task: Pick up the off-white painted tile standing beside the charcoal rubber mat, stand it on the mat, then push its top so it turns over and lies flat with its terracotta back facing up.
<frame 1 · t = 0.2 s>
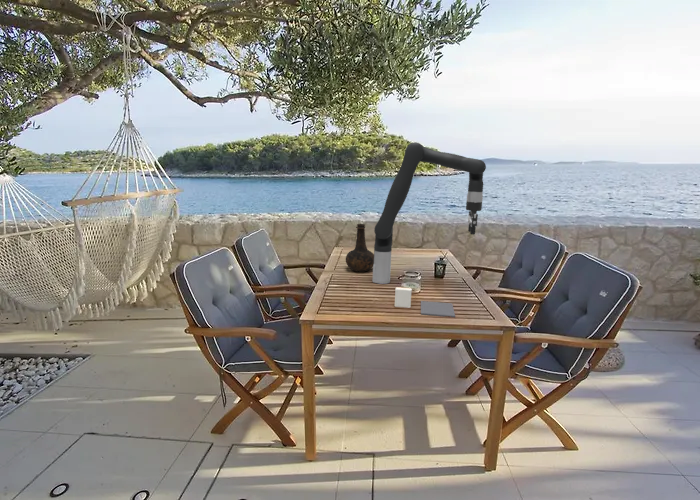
hand: (471, 233, 197), 29 cm above the table, tool pointing down, fingers open, 8 cm apart
mat: (437, 309, 170), on the table
tile: (402, 305, 174), on the table
glass bottle: (360, 270, 234), on the table
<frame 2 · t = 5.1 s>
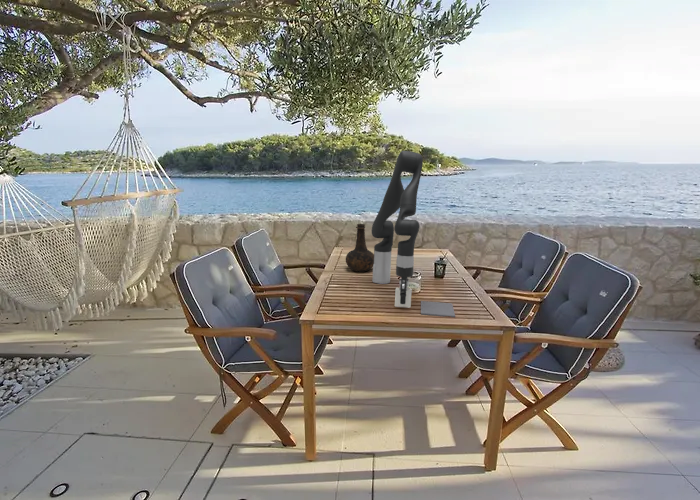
hand: (402, 302, 173), 2 cm above the table, tool pointing down, fingers closed on tile, 3 cm apart
tile: (402, 305, 174), on the table, touching gripper
everything else where it was.
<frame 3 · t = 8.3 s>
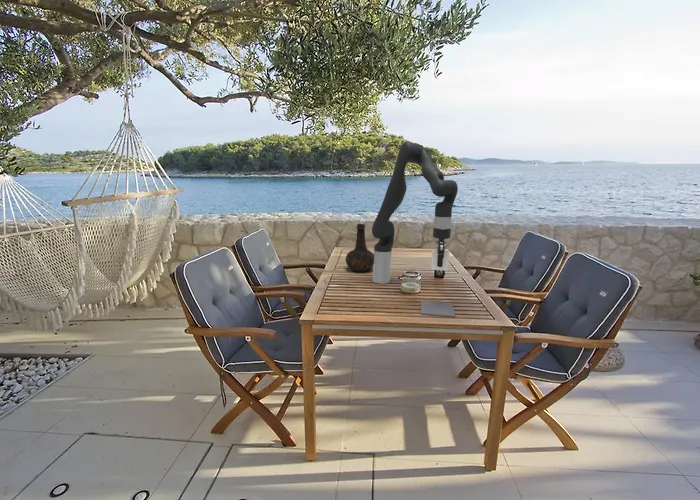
hand: (439, 265, 171), 19 cm above the table, tool pointing down, fingers closed on tile, 3 cm apart
tile: (439, 269, 172), point 17 cm above the table, touching gripper
everything else where it was.
when the fingers open (3 cm above the table, at t = 11.3 s): tile stays where it is, resting on mat.
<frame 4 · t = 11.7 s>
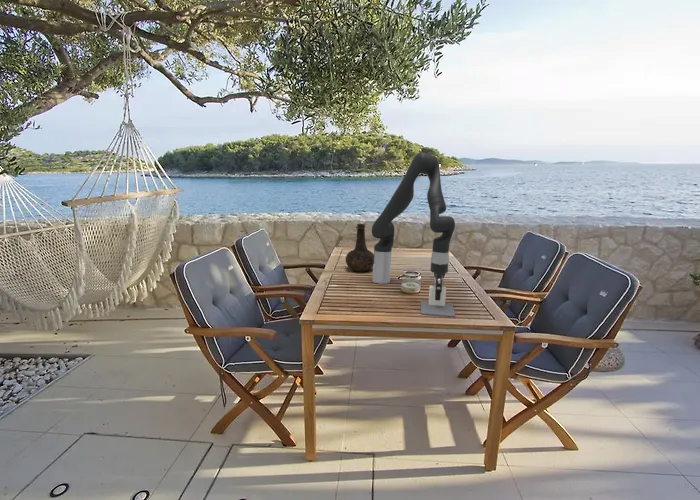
hand: (437, 297, 174), 4 cm above the table, tool pointing down, fingers open, 6 cm apart
tile: (436, 304, 175), point 1 cm above the table, touching mat
everything else where it was.
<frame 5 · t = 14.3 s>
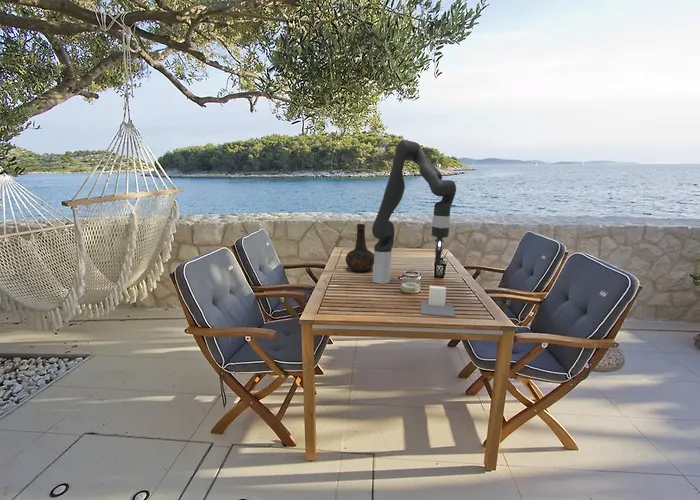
hand: (437, 263, 176), 18 cm above the table, tool pointing down, fingers closed
nothing on the table moved.
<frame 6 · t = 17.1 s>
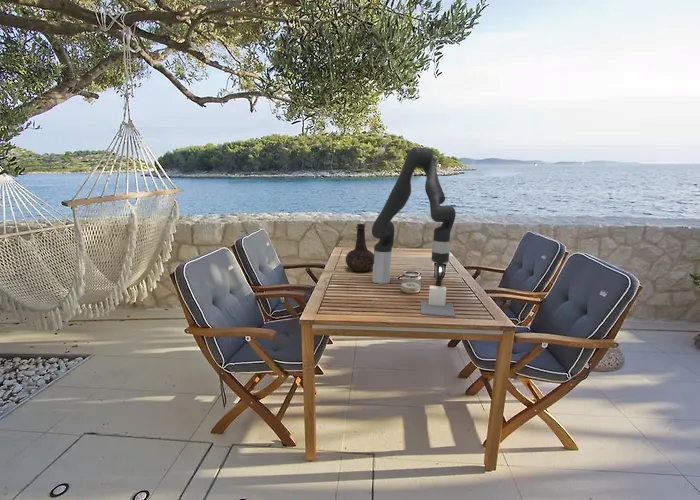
hand: (438, 288, 176), 7 cm above the table, tool pointing down, fingers closed
tile: (436, 303, 175), point 1 cm above the table, tilted 6°, touching gripper, mat
everything else where it was.
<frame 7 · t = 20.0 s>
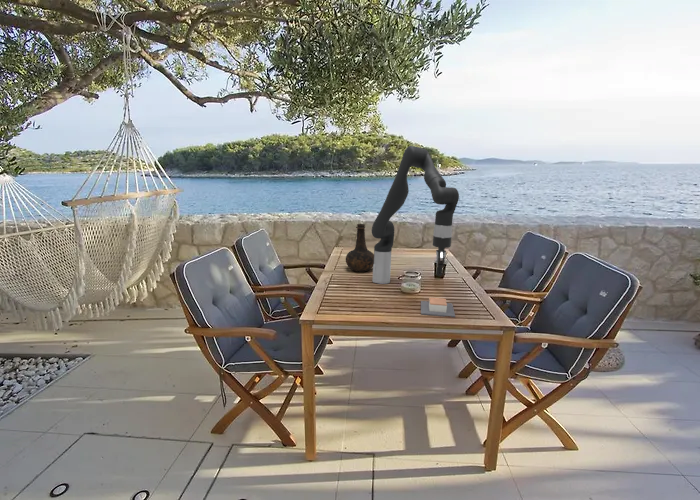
hand: (439, 274, 167), 16 cm above the table, tool pointing down, fingers closed
tile: (437, 301, 173), point 2 cm above the table, tilted 90°, touching mat
everything else where it was.
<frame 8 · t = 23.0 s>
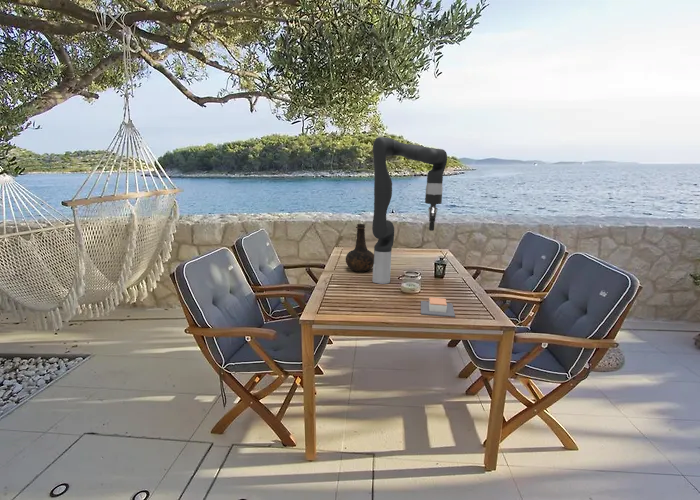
hand: (431, 230, 183), 32 cm above the table, tool pointing down, fingers closed
nothing on the table moved.
at the end: tile tilted 90°; tile inside the target area on the mat (3.0 cm from its centre), point 2.3 cm above the mat's base; the gripper is holding nothing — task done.
